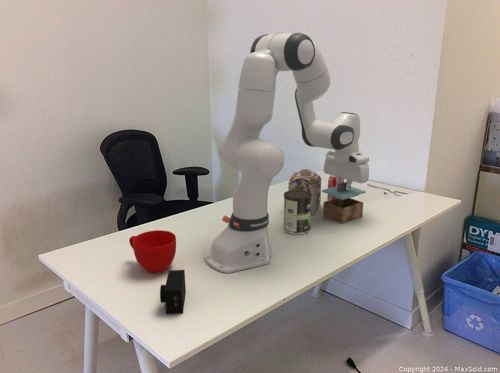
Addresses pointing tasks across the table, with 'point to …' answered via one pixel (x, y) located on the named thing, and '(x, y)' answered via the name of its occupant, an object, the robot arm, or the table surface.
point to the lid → (343, 191)
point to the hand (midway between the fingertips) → (343, 188)
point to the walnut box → (342, 210)
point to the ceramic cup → (154, 250)
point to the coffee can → (297, 211)
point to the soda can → (332, 184)
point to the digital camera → (174, 292)
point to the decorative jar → (307, 186)
